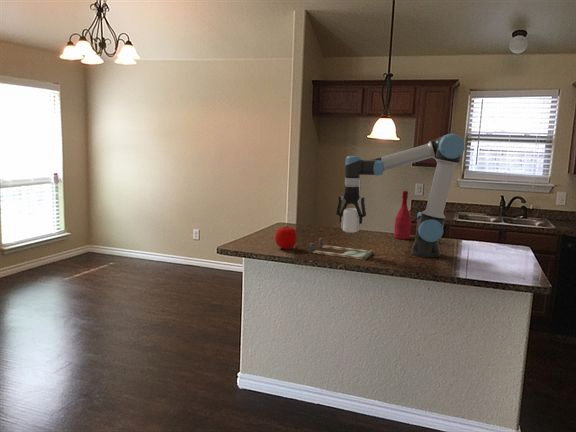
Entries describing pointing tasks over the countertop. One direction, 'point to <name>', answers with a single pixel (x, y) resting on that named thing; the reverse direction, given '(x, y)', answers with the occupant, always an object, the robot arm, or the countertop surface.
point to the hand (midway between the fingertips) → (350, 229)
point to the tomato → (285, 237)
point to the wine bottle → (403, 220)
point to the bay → (349, 252)
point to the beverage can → (350, 220)
